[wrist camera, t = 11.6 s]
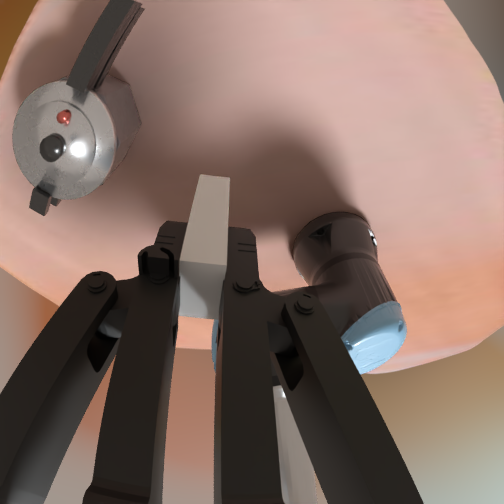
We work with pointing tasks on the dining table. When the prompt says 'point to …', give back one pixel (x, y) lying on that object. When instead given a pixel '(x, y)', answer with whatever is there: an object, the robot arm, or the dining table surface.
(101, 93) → the cooker pot
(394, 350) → the robot arm
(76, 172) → the lid
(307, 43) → the dining table surface
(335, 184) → the dining table surface
